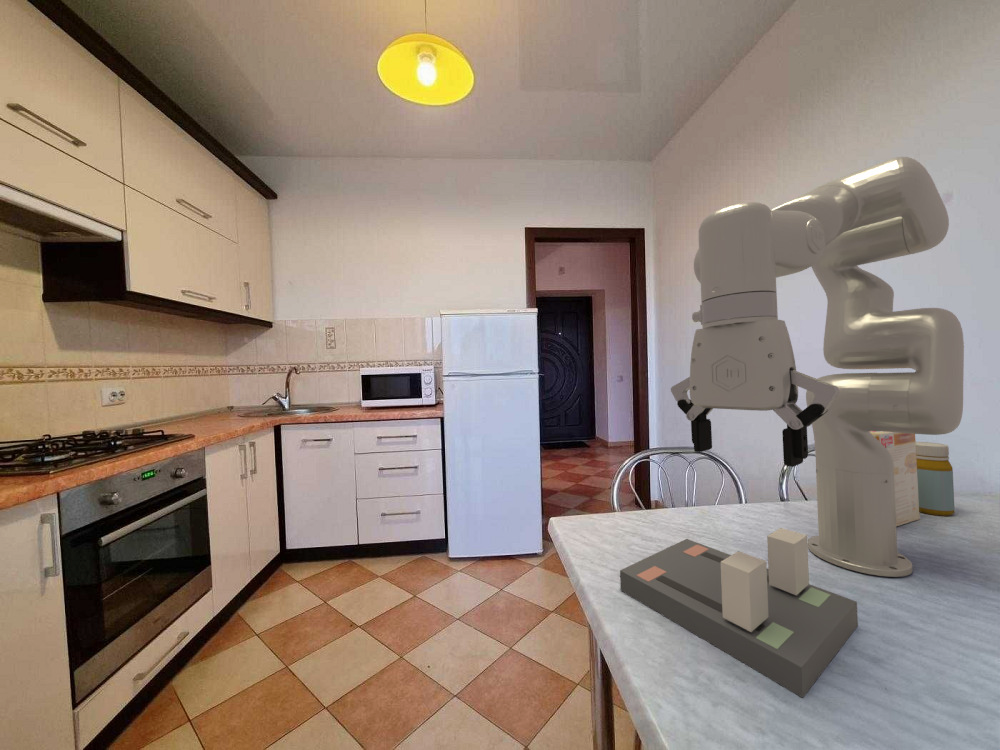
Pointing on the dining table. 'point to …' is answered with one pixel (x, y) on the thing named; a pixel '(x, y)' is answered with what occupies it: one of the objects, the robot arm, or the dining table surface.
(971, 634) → the dining table surface
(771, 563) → the block
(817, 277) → the robot arm
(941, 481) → the bottle
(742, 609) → the block
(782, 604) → the breaker panel
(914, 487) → the coffeecake box
